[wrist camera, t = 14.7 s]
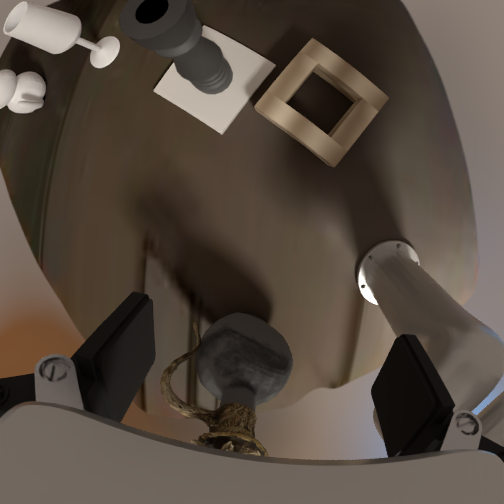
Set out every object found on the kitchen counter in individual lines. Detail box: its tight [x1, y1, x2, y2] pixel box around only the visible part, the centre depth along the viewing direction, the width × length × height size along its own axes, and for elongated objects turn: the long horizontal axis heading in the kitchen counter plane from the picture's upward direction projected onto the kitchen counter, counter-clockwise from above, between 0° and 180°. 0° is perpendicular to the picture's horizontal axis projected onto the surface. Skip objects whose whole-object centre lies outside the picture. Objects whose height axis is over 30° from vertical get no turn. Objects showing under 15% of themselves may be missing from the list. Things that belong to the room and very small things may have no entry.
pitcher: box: [160, 312, 293, 457], centre depth 40 cm, size 11×19×30 cm, turn 58°
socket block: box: [254, 38, 389, 167], centre depth 37 cm, size 14×14×5 cm
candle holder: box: [119, 0, 233, 94], centre depth 26 cm, size 6×6×25 cm
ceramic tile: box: [154, 25, 276, 135], centre depth 38 cm, size 14×14×1 cm
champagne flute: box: [4, 1, 120, 68], centre depth 26 cm, size 7×7×24 cm
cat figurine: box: [0, 70, 46, 113], centre depth 33 cm, size 9×12×15 cm
